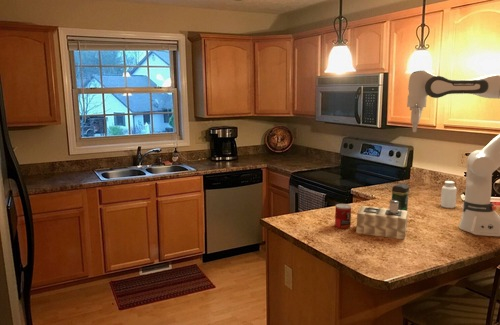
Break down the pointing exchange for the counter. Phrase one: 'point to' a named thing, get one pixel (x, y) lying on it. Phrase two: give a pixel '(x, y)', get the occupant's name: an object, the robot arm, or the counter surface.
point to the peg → (393, 207)
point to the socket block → (381, 222)
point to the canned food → (343, 216)
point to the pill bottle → (448, 195)
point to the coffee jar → (401, 195)
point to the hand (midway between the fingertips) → (414, 131)
